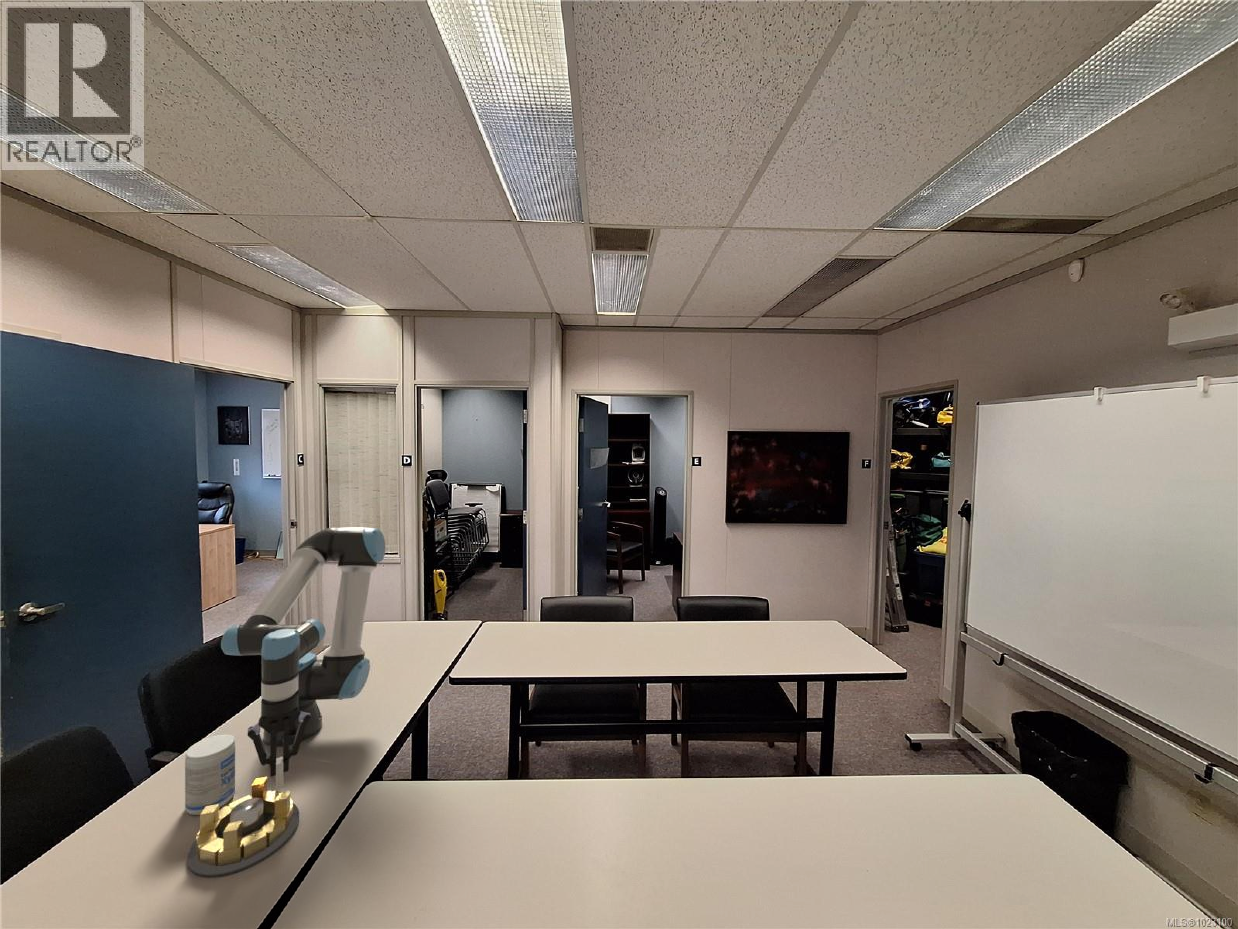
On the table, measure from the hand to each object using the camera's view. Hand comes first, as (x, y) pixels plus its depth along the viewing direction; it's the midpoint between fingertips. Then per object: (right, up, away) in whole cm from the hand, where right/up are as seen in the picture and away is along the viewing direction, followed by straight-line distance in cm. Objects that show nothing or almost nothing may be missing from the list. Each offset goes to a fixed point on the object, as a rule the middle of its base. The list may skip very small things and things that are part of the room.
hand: (279, 785), depth 115 cm
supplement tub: (-18, -5, +1) cm, 19 cm away
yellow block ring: (-1, -4, -9) cm, 10 cm away
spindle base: (-1, -6, -9) cm, 11 cm away
